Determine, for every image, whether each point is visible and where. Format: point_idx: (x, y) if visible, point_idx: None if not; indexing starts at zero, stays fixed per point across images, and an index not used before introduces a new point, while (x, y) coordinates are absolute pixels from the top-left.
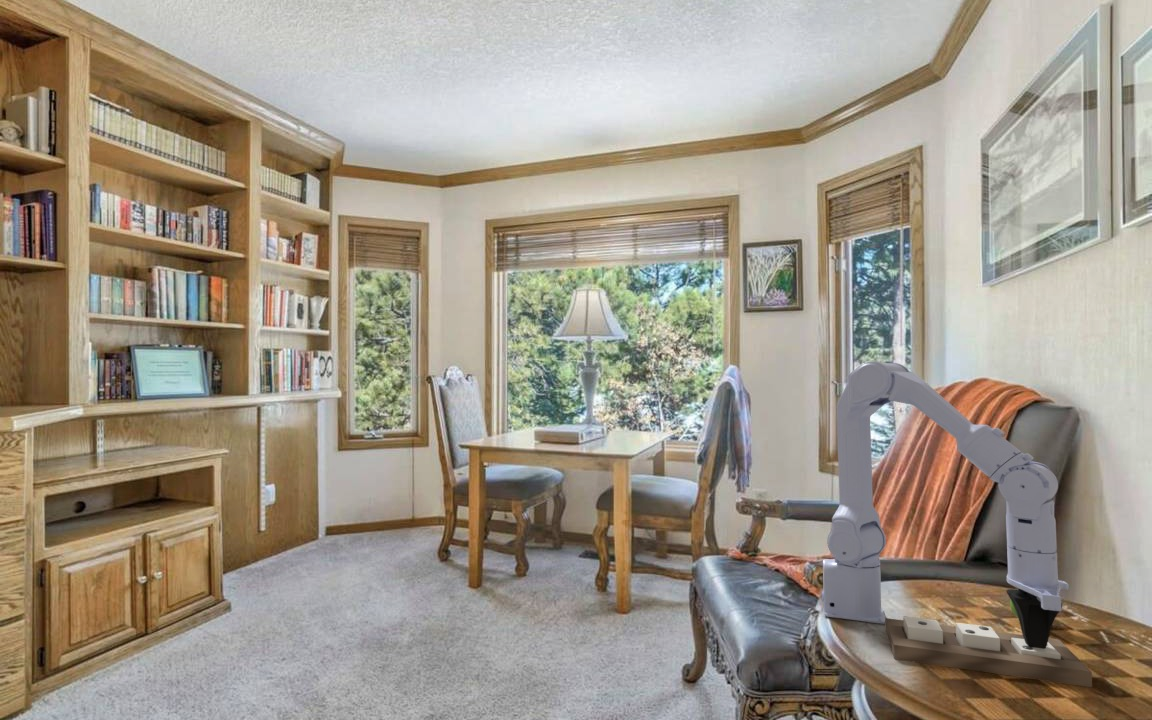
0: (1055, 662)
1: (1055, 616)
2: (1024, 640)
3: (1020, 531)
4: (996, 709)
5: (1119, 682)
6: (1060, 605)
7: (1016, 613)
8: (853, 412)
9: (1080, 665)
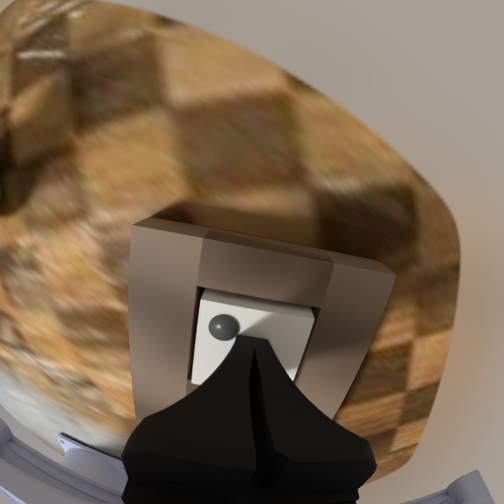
0: (341, 339)
1: (329, 418)
2: (207, 363)
3: None
4: (422, 429)
5: (339, 161)
6: (484, 485)
7: None
8: None
9: (359, 282)
